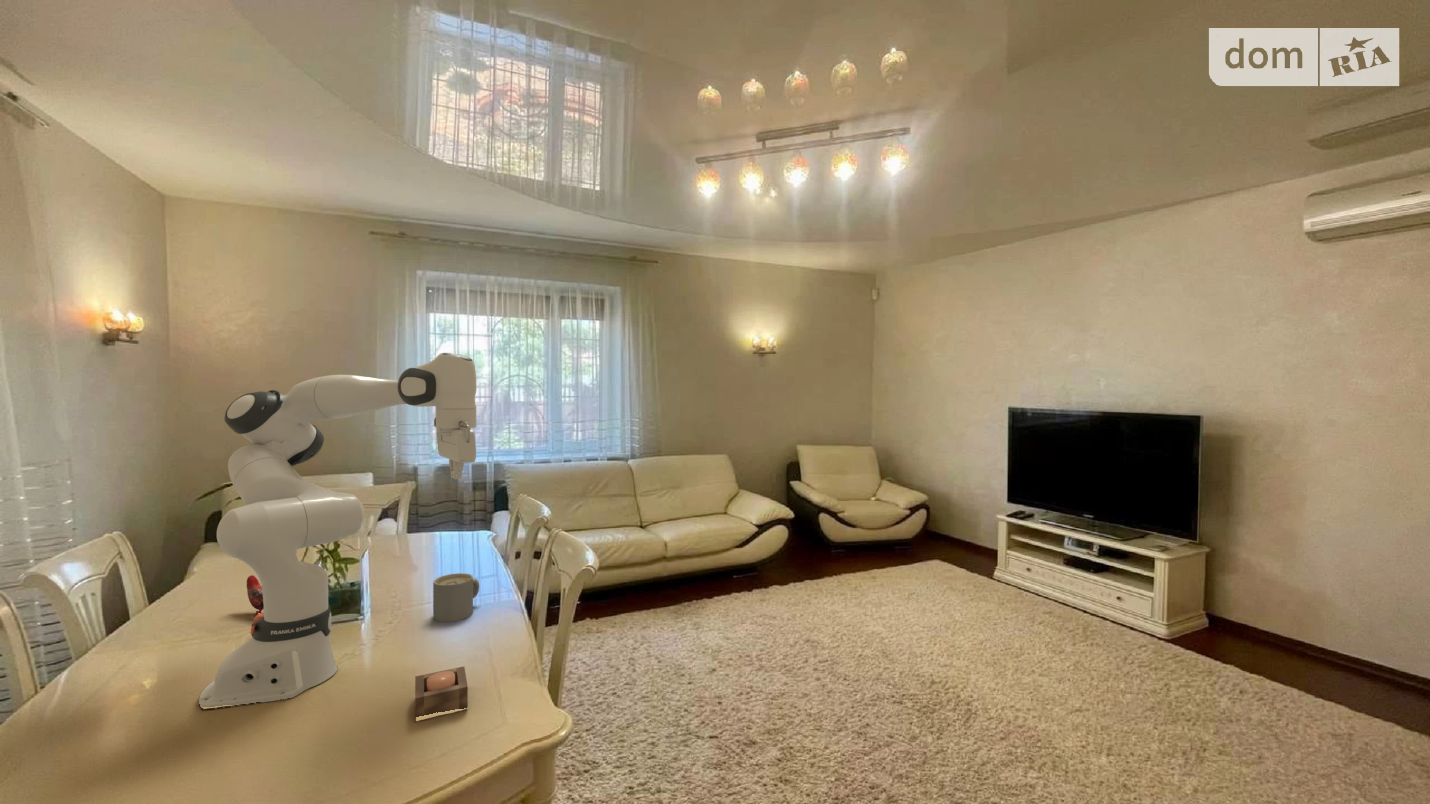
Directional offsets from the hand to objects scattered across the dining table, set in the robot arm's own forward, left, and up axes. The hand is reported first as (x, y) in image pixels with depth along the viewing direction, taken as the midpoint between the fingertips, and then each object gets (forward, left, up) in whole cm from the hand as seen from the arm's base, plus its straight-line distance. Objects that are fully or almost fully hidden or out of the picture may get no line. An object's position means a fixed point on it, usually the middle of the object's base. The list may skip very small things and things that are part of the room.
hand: (456, 478), depth 132 cm
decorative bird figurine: (-46, +45, -41) cm, 77 cm away
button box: (-4, -25, -41) cm, 48 cm away
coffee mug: (+2, +23, -41) cm, 47 cm away
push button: (-4, -25, -40) cm, 47 cm away
